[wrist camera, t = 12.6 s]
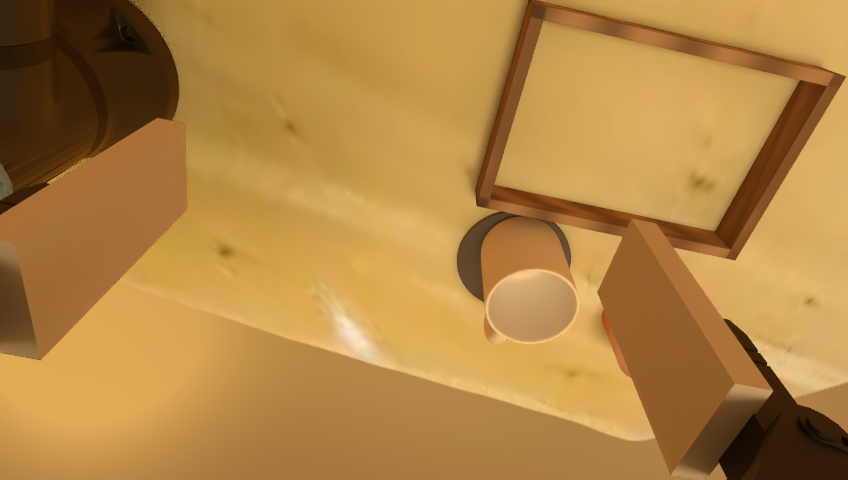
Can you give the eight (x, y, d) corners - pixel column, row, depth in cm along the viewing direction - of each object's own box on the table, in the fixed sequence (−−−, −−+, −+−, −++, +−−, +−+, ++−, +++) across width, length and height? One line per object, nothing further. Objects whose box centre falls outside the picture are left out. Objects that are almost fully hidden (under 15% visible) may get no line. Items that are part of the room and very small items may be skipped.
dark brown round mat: (446, 293, 59) (446, 296, 59) (472, 199, 54) (473, 201, 53) (548, 313, 60) (549, 316, 60) (586, 223, 54) (587, 226, 54)
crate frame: (475, 190, 53) (476, 206, 50) (529, -2, 44) (535, 3, 41) (719, 242, 55) (735, 260, 52) (820, 67, 46) (846, 76, 43)
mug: (516, 315, 60) (526, 382, 51) (450, 288, 58) (450, 352, 49) (575, 233, 54) (599, 291, 45) (504, 200, 53) (514, 254, 44)
